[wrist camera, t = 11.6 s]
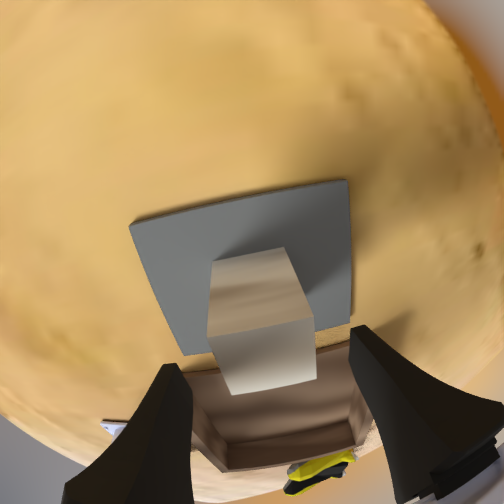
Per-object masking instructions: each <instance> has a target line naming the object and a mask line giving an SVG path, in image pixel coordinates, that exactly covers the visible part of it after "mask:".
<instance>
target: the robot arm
mask: <svg viewBox="0 0 504 504" xmlns="http://www.w3.org/2000/svg"><path fill="white" fill-rule="evenodd" d="M348 361H349V364H350V367H351V370H352V373H353V376H354V378H355V381H356V383H357V385H358V387H359V389H360V391H361V393H362V395H363V397H364V400H365V402H366V404H367V406H368V408H369V410H370V412H371V414H372V416H373V418H374V420H375V423H376V425H377V428H378V431H379V434H380V437H381V440H382V443H383V446H384V450H385V453H386V457H387V461H388V464H389V469H390V473H391V478H392V482H393V488H394V494H395V500H396V503H397V504H404V503H406V502H408V501H410V500H412V499H414V498H416V497H418V496H419V498H420V500H419V501H417V502H415V503H413V504H503V503H504V443H503V444H501V445H500V446H499V447H498V448H497V449H496V447H495V444H496V443H497V440H496V438H495V437H494V436H495V435H496V434H498V433H499V432H500V431H501V430H502V428H504V405H503V404H502V403H501V402H497V401H493V400H489V399H485V398H481V397H478V396H475V395H472V394H469V393H466V392H464V391H461V390H459V389H457V388H455V387H452V386H450V385H448V384H446V383H444V382H442V381H440V380H438V379H436V378H435V377H433V376H431V375H429V374H428V373H426V372H424V371H423V370H421V369H420V368H418V367H417V366H416V365H414V364H413V363H411V362H410V361H408V360H407V359H406V358H404V357H403V356H402V355H401V354H399V353H398V352H397V351H395V350H394V349H393V348H392V347H390V346H389V345H388V344H387V343H386V342H384V341H383V340H382V339H381V338H380V337H378V336H377V335H376V334H375V333H374V332H373V331H372V330H370V329H369V328H368V327H367V326H366V325H361V326H357V327H354V328H351V331H350V345H349V357H348ZM100 425H101V426H102V427H103V428H104V429H106V430H107V431H108V432H109V433H110V434H111V435H112V436H113V438H112V443H111V445H110V446H109V447H108V448H107V449H106V450H105V451H104V452H103V453H102V454H101V455H100V456H99V457H98V458H97V459H96V460H95V461H94V462H93V463H92V464H91V465H90V466H88V467H87V468H86V469H85V470H83V471H82V472H81V473H79V474H78V475H77V476H75V477H74V478H72V479H71V480H69V481H68V482H66V483H65V486H64V491H63V496H62V502H61V504H194V498H193V490H192V481H191V468H190V451H191V438H192V425H193V391H192V389H191V387H190V386H189V384H188V382H187V381H186V379H185V377H184V376H183V374H182V372H181V370H180V369H179V367H178V365H177V363H171V364H163V365H162V367H161V368H160V370H159V372H158V374H157V375H156V377H155V379H154V381H153V383H152V384H151V386H150V388H149V390H148V391H147V393H146V395H145V397H144V398H143V400H142V402H141V403H140V405H139V407H138V408H137V410H136V411H135V413H134V414H133V416H132V417H131V419H130V420H129V422H128V423H120V422H106V421H101V422H100Z"/></svg>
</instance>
